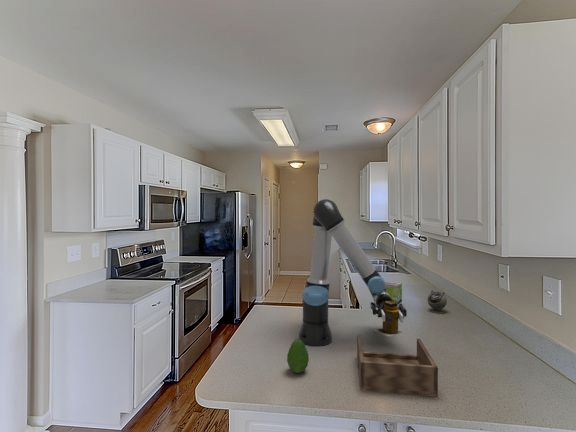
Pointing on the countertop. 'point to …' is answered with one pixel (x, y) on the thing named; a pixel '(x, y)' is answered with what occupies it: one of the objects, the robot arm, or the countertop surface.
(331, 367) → the countertop surface
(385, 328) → the condiment
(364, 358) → the tray
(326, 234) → the robot arm
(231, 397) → the countertop surface
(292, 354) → the avocado
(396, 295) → the tea box
